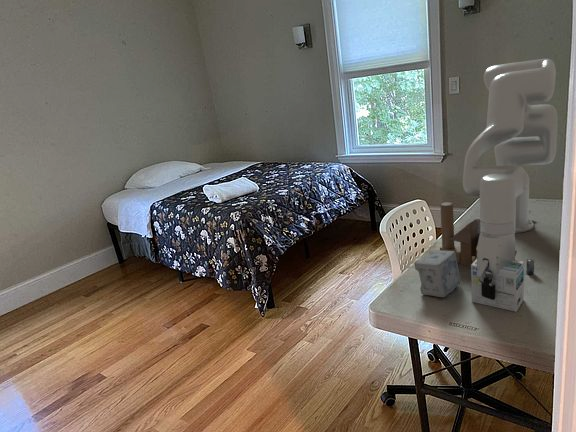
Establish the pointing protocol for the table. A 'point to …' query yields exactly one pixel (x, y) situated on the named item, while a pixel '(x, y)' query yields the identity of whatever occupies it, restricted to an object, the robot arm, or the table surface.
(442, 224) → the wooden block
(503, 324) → the table surface
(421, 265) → the incense holder
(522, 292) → the light bulb box
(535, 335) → the table surface
